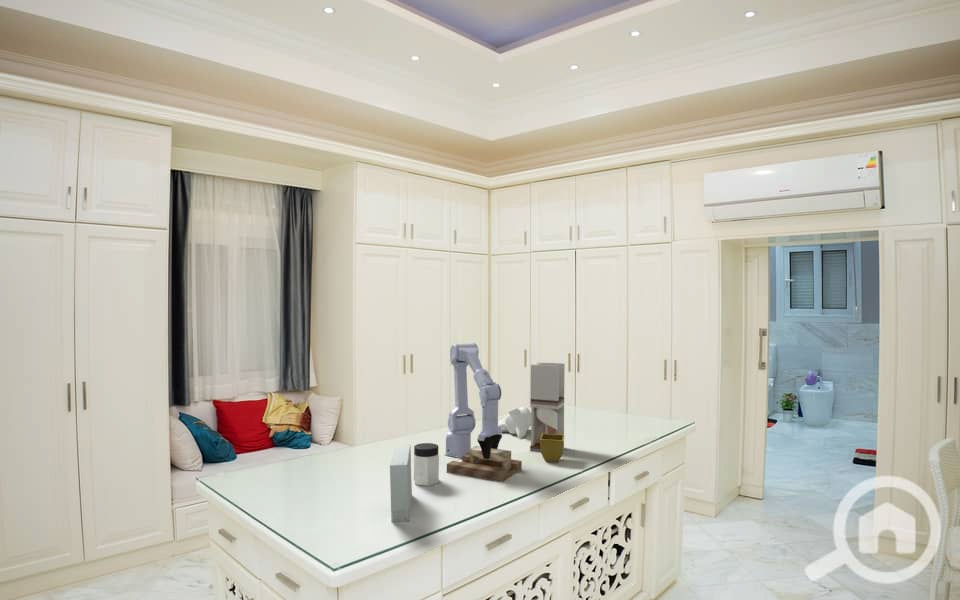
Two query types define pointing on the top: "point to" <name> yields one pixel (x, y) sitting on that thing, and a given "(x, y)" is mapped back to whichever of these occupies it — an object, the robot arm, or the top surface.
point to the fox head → (516, 421)
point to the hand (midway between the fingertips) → (489, 456)
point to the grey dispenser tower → (546, 401)
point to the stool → (491, 456)
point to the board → (484, 468)
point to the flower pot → (551, 447)
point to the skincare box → (401, 483)
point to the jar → (426, 464)
